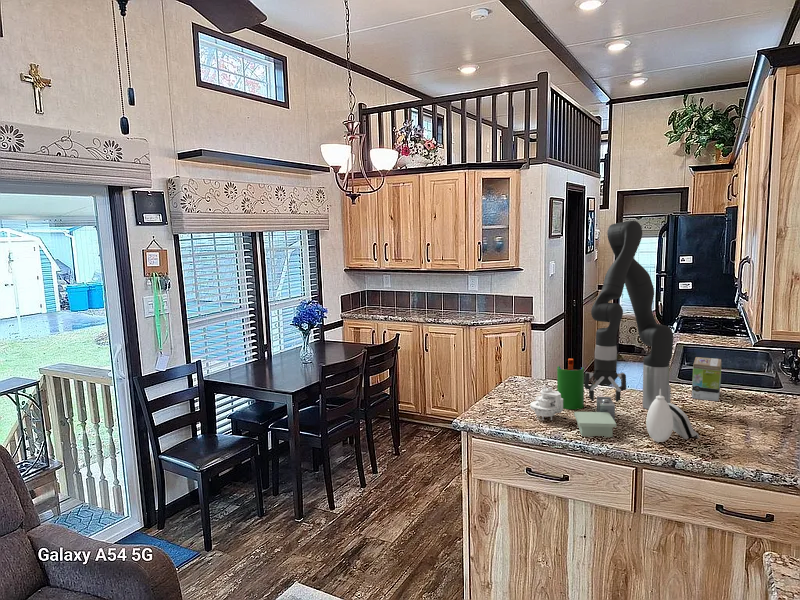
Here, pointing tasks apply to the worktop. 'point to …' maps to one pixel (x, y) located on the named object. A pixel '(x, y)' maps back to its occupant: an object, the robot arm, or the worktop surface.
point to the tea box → (706, 378)
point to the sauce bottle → (659, 419)
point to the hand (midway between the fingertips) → (604, 400)
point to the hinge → (681, 423)
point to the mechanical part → (547, 403)
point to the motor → (571, 386)
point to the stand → (595, 423)
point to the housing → (606, 406)
